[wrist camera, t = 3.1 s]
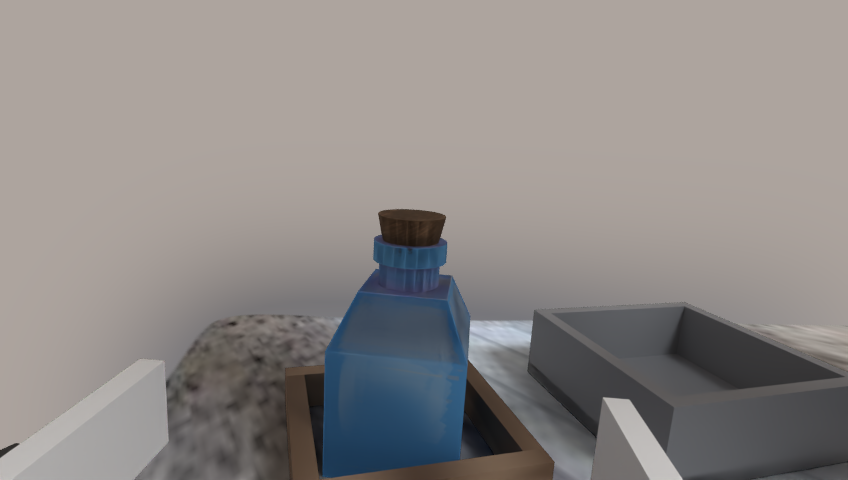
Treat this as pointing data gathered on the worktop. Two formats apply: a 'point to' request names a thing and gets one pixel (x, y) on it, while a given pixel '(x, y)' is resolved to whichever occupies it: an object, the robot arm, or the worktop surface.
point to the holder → (483, 476)
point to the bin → (696, 387)
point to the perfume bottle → (398, 357)
